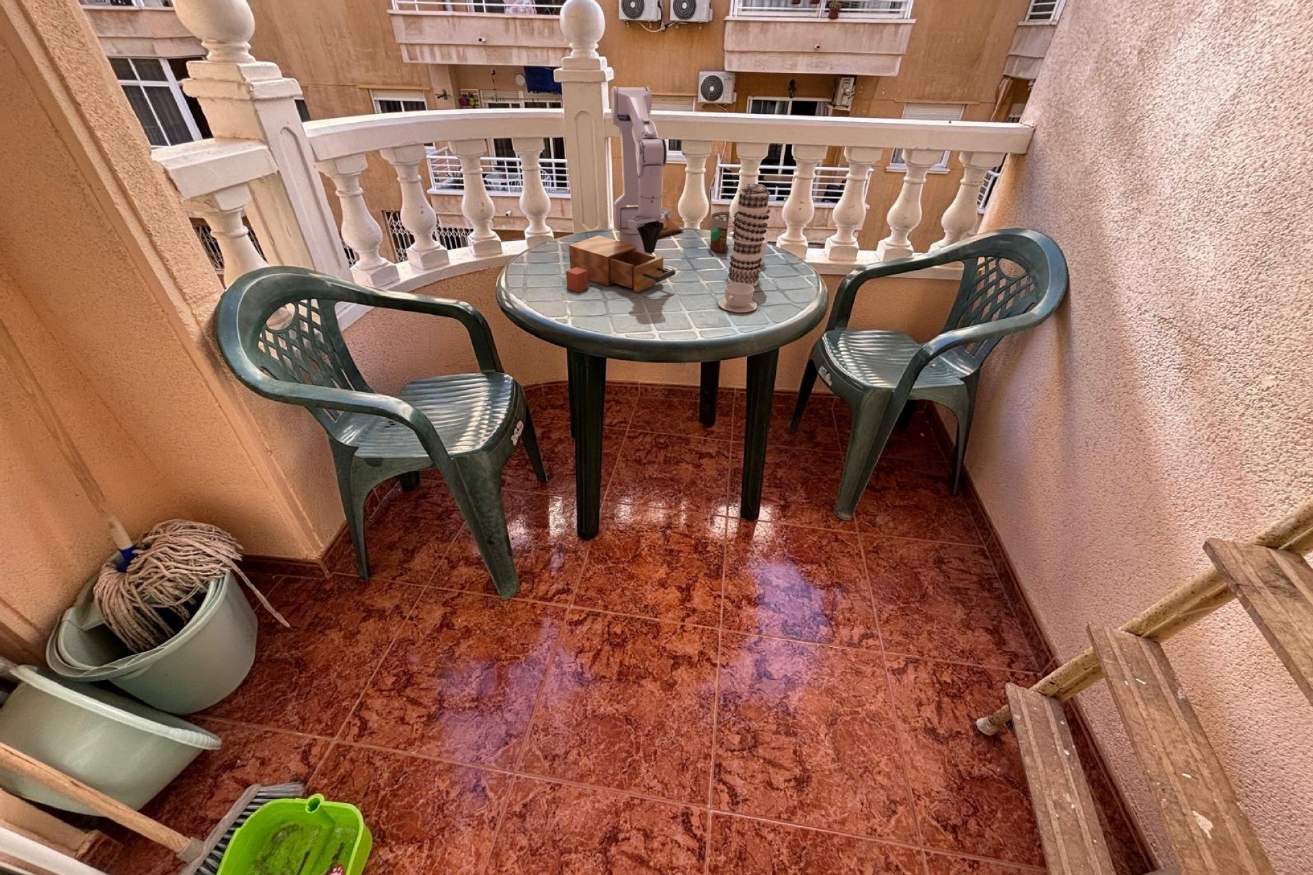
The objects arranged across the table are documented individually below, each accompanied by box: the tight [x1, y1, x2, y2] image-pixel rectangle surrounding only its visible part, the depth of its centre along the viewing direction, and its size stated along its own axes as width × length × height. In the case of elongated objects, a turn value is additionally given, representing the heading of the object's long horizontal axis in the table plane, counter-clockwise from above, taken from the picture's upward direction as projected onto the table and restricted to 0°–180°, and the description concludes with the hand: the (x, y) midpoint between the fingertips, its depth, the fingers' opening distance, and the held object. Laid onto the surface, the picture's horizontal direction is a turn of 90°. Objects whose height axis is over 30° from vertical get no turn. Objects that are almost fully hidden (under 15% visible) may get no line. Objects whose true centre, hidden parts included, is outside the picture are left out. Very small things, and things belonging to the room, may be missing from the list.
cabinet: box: [568, 235, 637, 287], centre depth 149 cm, size 14×12×8 cm
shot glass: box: [760, 238, 769, 266], centre depth 160 cm, size 7×7×7 cm
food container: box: [708, 211, 730, 254], centre depth 170 cm, size 12×6×10 cm, turn 172°
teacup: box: [717, 283, 758, 313], centre depth 134 cm, size 10×10×5 cm
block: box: [565, 267, 589, 293], centre depth 141 cm, size 4×4×5 cm
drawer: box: [608, 250, 676, 293], centre depth 143 cm, size 19×11×6 cm, turn 52°
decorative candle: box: [727, 183, 771, 288], centre depth 142 cm, size 9×9×25 cm
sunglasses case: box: [658, 218, 684, 239], centre depth 182 cm, size 18×7×7 cm, turn 137°
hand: (649, 252), depth 136 cm, fingers closed
